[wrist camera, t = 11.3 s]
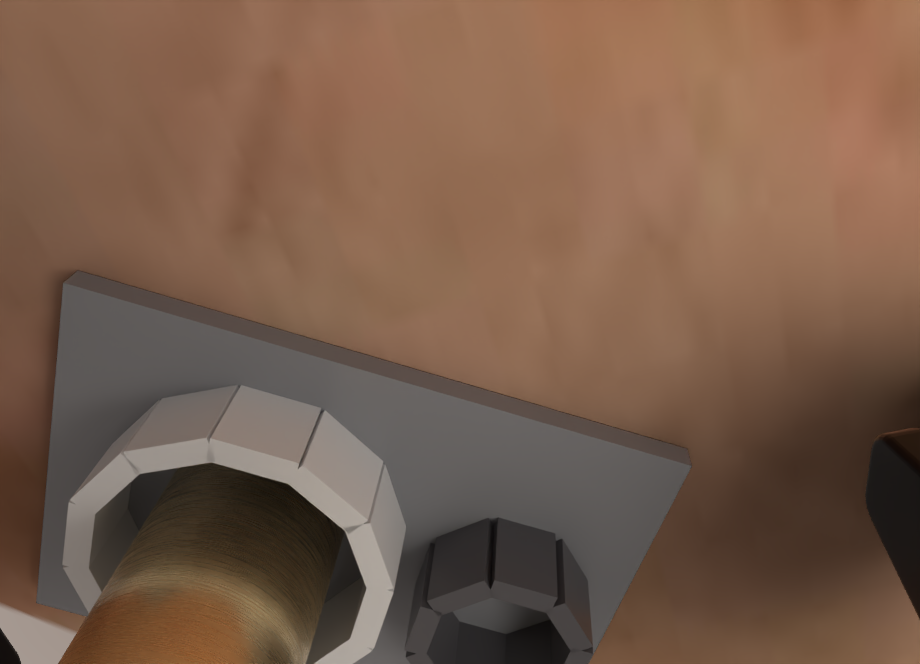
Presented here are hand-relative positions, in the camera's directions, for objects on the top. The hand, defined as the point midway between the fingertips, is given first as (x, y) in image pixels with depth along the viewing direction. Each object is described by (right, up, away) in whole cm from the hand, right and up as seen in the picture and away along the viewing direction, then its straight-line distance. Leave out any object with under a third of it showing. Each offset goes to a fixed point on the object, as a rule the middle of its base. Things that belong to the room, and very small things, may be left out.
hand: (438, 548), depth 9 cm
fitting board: (-3, -4, +17) cm, 18 cm away
